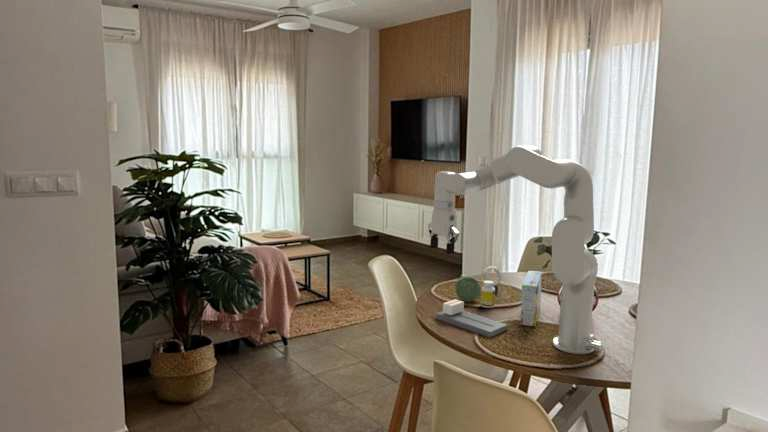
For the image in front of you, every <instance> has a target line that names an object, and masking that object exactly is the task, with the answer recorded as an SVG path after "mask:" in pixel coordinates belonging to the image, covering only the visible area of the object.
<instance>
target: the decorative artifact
mask: <svg viewBox="0 0 768 432" xmlns="http://www.w3.org/2000/svg"><path fill="white" fill-rule="evenodd" d="M454 291H455V294H456V296H457V298H459V299H460V301H463V302H472V301H475V300H476V299H477V298H479V296H480V295H481V284H480V282H479V280H478V279H476V278H475V277H474V276H471V275H463V276H461V277H460V278H458V279H457V280H456V282H455V284H454Z"/></svg>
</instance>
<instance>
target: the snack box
mask: <svg viewBox="0 0 768 432" xmlns="http://www.w3.org/2000/svg"><path fill="white" fill-rule="evenodd" d="M542 273H543V272H542V271H540V270H539V271H537V270H528V271H527V273H526V276H525V278H524V280H523V282H522V284H521V310H520V311H521V313H520V315H521V317H520V326H523V325H526V326H525V327H531V326H534V327H533V328H536V327H537V326H536V325H537V321H538V318H539V315H540V312H541V300H542V299H541V298H542Z"/></svg>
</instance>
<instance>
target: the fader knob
mask: <svg viewBox="0 0 768 432" xmlns="http://www.w3.org/2000/svg"><path fill="white" fill-rule="evenodd" d="M464 306H465V301H463V300H461V299H460V300H459V299H456V298H455V299H452V300H450V301H445V302H443V303H442V311H443V313H446V314H449V315H454V314H457V313H459V312H462V311H465V309H464V308H465V307H464Z"/></svg>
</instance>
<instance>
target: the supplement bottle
mask: <svg viewBox="0 0 768 432" xmlns="http://www.w3.org/2000/svg"><path fill="white" fill-rule="evenodd" d="M494 283H495V282H494V281H493V280H487V281H485V280H483V286H482V287H480V289H481V290H480V302H479V303H480V306H481V307H482V308H486V309H491V308H494V307H495V298H496V297H495V296H496V294H495V288H494V287H493V286H494Z"/></svg>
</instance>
